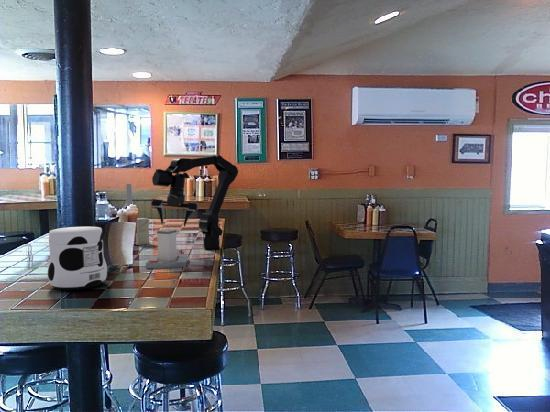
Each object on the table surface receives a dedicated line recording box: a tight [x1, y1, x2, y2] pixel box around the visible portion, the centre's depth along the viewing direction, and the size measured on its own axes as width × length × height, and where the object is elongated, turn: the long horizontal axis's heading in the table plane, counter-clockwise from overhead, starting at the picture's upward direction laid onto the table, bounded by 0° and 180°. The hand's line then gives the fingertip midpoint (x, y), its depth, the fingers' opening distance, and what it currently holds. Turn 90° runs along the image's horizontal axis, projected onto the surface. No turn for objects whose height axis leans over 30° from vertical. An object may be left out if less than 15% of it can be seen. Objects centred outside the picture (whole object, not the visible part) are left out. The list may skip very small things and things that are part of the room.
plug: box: [156, 228, 178, 261], centre depth 184 cm, size 5×5×12 cm
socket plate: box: [145, 254, 189, 270], centre depth 185 cm, size 14×14×2 cm
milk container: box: [47, 226, 108, 291], centre depth 152 cm, size 17×17×18 cm
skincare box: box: [134, 217, 150, 246], centre depth 230 cm, size 6×4×12 cm
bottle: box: [122, 183, 135, 210], centre depth 245 cm, size 7×7×28 cm
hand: (173, 225), depth 203 cm, fingers open, 9 cm apart
